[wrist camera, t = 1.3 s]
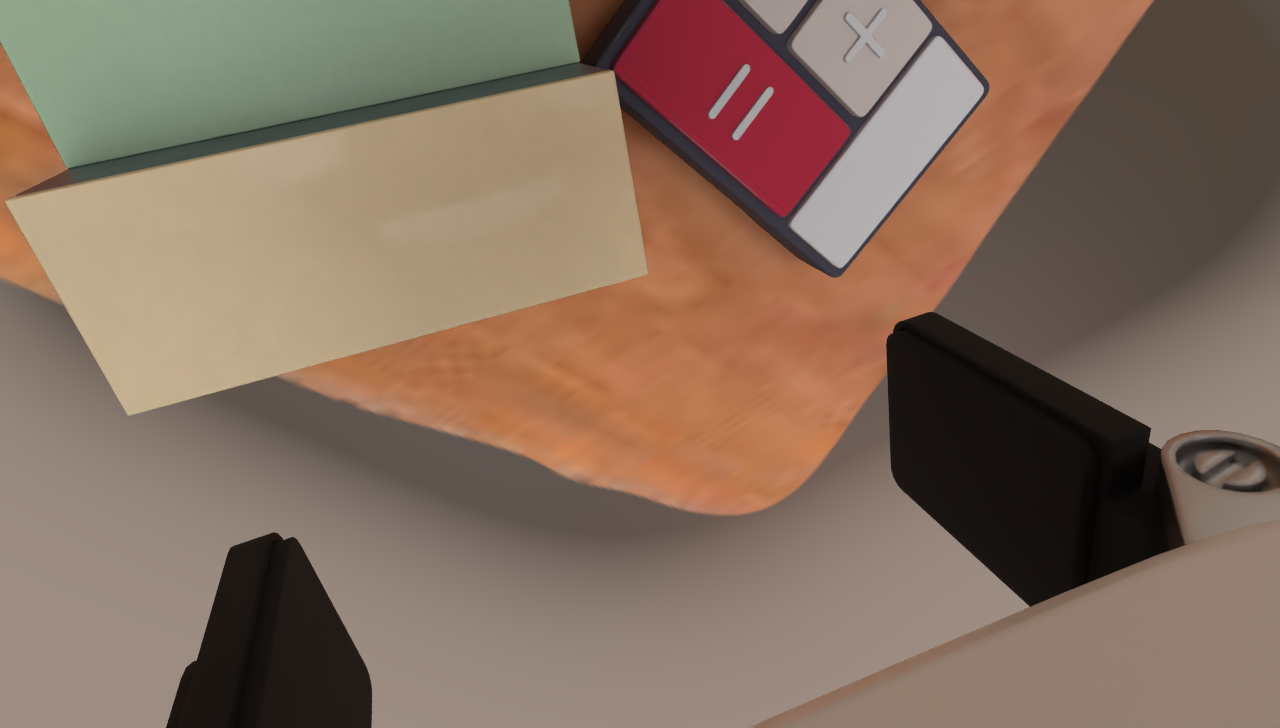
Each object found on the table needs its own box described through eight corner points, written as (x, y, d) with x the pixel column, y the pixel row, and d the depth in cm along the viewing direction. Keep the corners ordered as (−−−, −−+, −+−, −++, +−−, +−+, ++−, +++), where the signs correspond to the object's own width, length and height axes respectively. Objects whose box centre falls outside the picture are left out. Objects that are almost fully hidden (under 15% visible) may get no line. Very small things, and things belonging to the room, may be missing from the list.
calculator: (777, -190, 26) (1007, 88, 33) (732, -160, 30) (945, 84, 37) (593, 72, 28) (845, 287, 34) (572, 69, 32) (803, 263, 38)
